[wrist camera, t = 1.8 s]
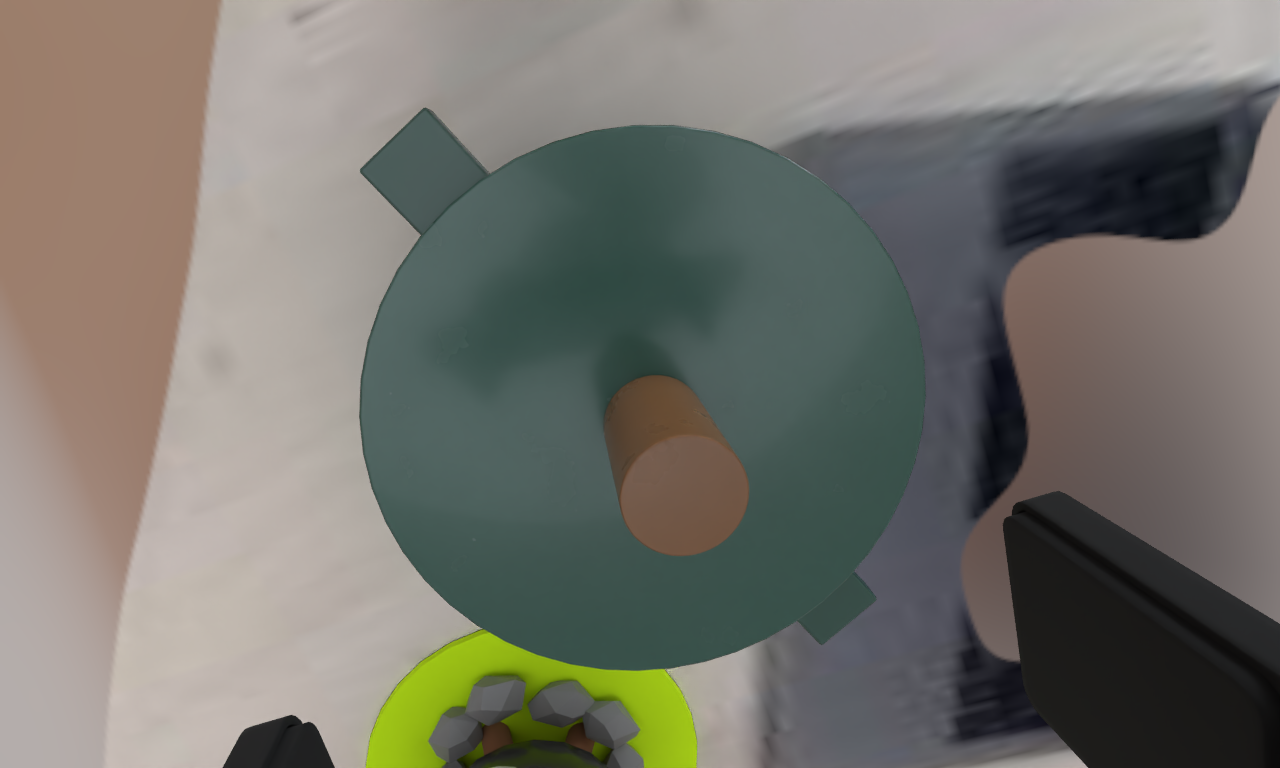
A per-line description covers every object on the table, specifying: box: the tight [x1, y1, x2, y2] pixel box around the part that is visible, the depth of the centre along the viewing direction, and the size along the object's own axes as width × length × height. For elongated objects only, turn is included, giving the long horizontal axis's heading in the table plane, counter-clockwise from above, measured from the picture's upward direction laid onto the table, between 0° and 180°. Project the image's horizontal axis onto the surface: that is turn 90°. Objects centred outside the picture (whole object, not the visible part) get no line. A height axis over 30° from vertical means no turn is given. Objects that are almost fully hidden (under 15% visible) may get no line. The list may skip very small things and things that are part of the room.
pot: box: [360, 108, 877, 645], centre depth 27 cm, size 15×20×10 cm
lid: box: [359, 125, 926, 671], centre depth 20 cm, size 16×16×6 cm
